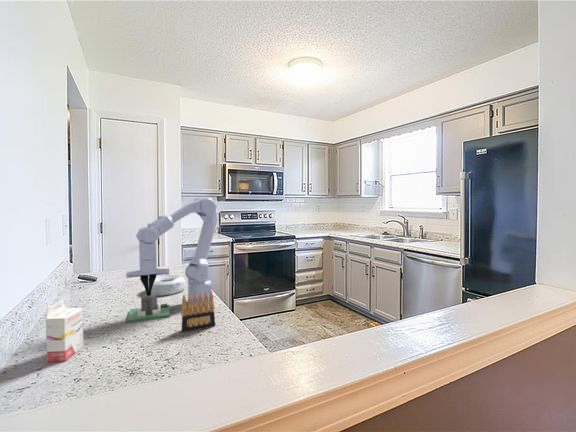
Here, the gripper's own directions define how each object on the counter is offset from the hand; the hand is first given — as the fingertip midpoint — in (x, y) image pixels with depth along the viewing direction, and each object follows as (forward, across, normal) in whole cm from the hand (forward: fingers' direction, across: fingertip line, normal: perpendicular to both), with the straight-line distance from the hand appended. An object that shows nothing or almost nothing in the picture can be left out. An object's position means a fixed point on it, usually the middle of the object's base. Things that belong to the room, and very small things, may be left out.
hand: (149, 294), depth 114 cm
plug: (+6, 0, 0) cm, 6 cm away
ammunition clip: (+8, -16, +20) cm, 27 cm away
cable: (+8, -6, -31) cm, 32 cm away
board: (+8, 0, 0) cm, 8 cm away
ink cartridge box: (+8, +20, +24) cm, 32 cm away
